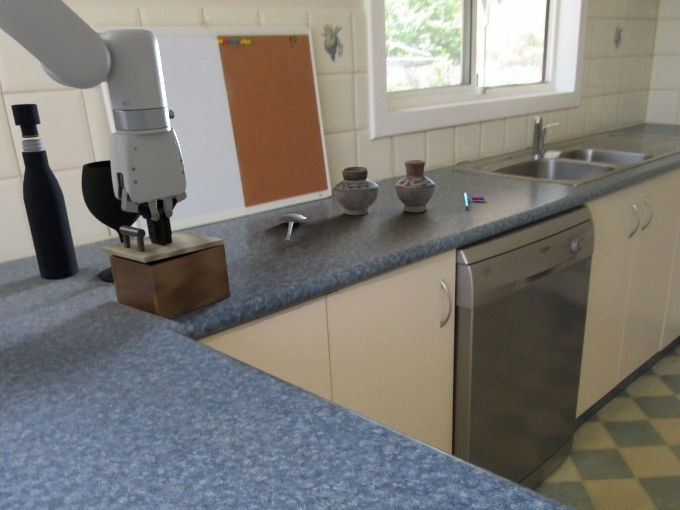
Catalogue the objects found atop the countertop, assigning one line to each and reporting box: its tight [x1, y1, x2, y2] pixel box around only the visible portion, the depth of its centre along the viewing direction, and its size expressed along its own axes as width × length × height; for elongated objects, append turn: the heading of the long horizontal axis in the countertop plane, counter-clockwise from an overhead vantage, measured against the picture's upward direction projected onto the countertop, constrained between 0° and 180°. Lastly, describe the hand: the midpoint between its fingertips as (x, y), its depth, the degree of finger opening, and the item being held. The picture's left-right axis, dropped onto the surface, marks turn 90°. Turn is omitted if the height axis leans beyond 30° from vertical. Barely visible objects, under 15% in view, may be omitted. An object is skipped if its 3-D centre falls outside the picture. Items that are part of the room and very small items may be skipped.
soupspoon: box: [277, 213, 307, 247], centre depth 145 cm, size 22×3×7 cm
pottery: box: [332, 159, 436, 216], centre depth 161 cm, size 11×25×12 cm, turn 97°
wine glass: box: [80, 159, 142, 283], centre depth 118 cm, size 10×10×20 cm
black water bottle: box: [10, 103, 80, 280], centre depth 117 cm, size 6×6×30 cm
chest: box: [108, 243, 231, 320], centre depth 105 cm, size 14×11×9 cm
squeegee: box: [463, 192, 485, 209], centre depth 170 cm, size 15×1×5 cm
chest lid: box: [101, 225, 225, 263], centre depth 103 cm, size 14×11×4 cm
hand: (161, 243), depth 103 cm, fingers closed
